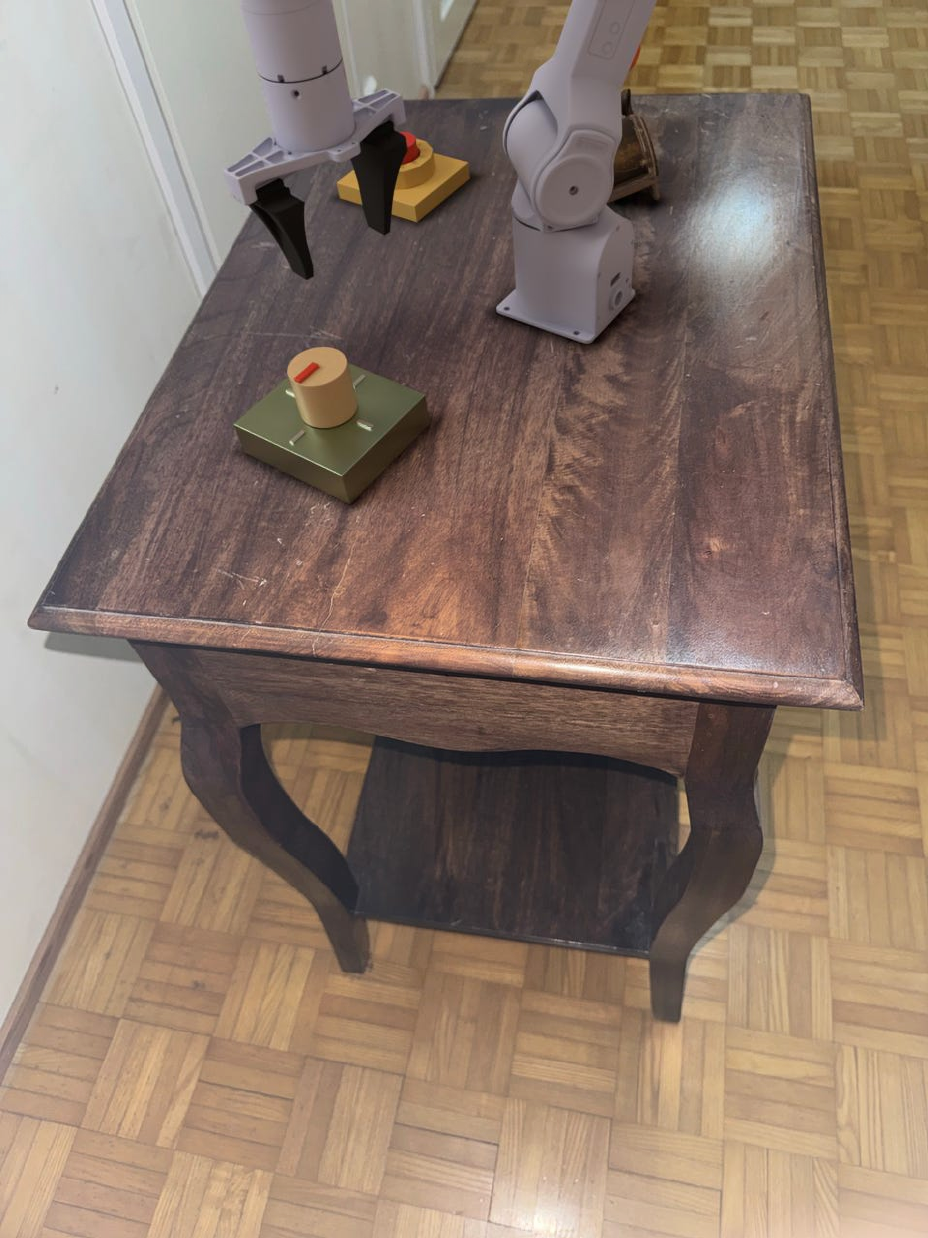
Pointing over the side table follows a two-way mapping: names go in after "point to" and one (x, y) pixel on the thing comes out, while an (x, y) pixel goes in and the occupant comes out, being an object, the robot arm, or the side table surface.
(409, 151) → the button
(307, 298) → the side table surface
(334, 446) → the panel
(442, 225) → the side table surface
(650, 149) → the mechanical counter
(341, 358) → the knob
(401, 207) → the housing
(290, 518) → the side table surface
